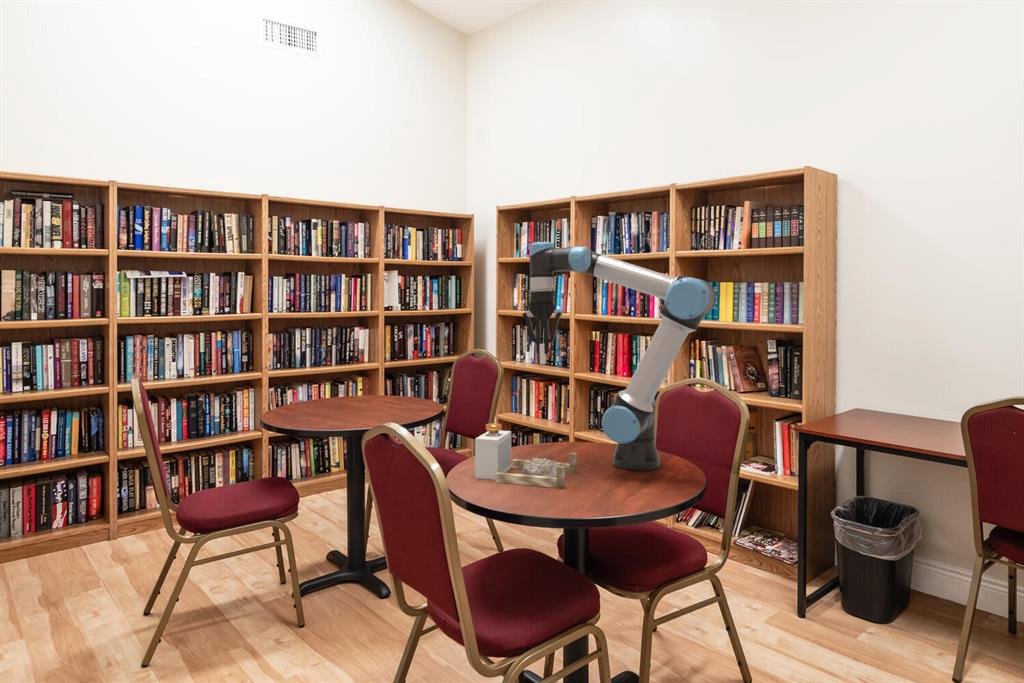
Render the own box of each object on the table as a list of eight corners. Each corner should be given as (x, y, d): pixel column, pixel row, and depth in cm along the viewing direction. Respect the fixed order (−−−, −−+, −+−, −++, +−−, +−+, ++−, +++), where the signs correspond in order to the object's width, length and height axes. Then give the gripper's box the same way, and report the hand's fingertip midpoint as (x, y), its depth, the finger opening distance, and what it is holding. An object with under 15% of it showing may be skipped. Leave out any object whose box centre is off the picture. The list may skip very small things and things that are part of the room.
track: (576, 471, 207) (576, 452, 207) (563, 488, 189) (563, 467, 189) (514, 466, 213) (514, 448, 213) (495, 482, 195) (495, 462, 195)
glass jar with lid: (503, 450, 206) (503, 423, 206) (498, 454, 202) (498, 426, 201) (488, 449, 208) (488, 422, 207) (483, 452, 203) (483, 425, 203)
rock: (541, 472, 208) (541, 453, 207) (564, 479, 199) (564, 460, 199) (513, 477, 201) (513, 458, 201) (536, 485, 192) (536, 465, 192)
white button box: (511, 468, 211) (511, 431, 210) (497, 479, 198) (497, 440, 197) (490, 466, 213) (490, 429, 212) (475, 477, 200) (475, 438, 199)
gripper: (564, 290, 215) (564, 362, 216) (525, 291, 218) (526, 362, 219) (559, 290, 207) (560, 365, 209) (519, 291, 211) (520, 364, 212)
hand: (543, 363), depth 214 cm, fingers closed
